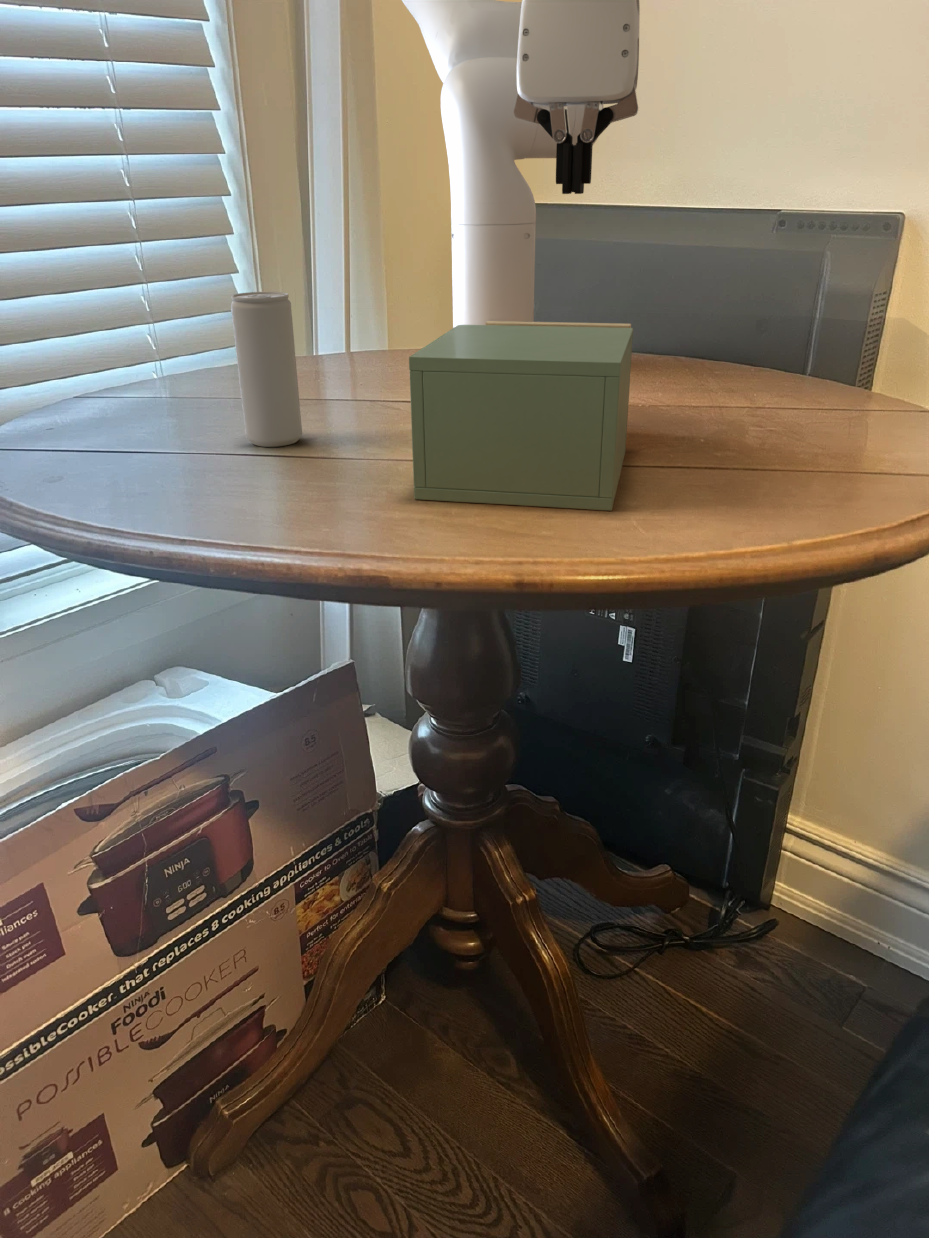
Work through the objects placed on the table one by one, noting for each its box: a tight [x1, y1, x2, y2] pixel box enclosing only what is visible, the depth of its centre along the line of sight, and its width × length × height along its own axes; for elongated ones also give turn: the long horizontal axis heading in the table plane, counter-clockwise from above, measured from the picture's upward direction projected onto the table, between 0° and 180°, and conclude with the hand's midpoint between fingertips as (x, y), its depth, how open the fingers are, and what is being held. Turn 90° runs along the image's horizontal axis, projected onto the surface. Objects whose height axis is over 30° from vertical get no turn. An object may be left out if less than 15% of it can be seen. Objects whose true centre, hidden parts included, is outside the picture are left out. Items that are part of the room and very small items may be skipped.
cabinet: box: [408, 325, 634, 512], centre depth 68 cm, size 15×14×10 cm
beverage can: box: [230, 291, 303, 448], centre depth 77 cm, size 5×5×12 cm
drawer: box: [485, 321, 632, 328], centre depth 79 cm, size 18×13×8 cm
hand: (572, 193), depth 83 cm, fingers closed
